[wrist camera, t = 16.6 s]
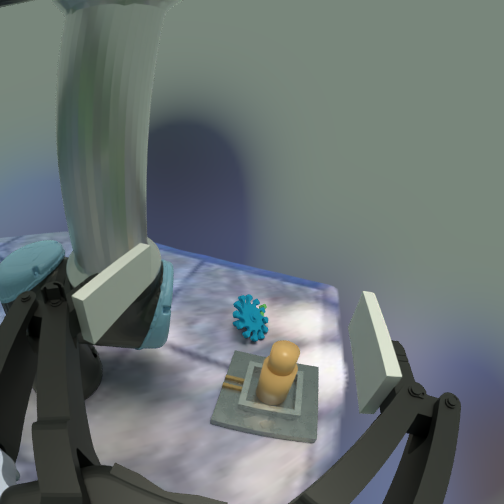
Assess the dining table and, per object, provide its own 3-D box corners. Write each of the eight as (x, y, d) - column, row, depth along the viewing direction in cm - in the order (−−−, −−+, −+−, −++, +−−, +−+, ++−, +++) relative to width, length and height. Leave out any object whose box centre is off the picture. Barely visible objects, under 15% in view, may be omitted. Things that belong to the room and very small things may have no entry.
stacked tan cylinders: (253, 401, 38) (265, 359, 34) (258, 378, 43) (270, 334, 39) (285, 407, 38) (303, 366, 33) (288, 384, 42) (304, 341, 38)
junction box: (210, 423, 35) (211, 414, 33) (234, 355, 49) (235, 344, 48) (313, 443, 33) (319, 435, 32) (316, 372, 47) (320, 361, 46)
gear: (253, 348, 50) (230, 301, 51) (231, 353, 53) (209, 310, 54) (278, 326, 59) (259, 286, 60) (258, 333, 62) (240, 295, 63)
